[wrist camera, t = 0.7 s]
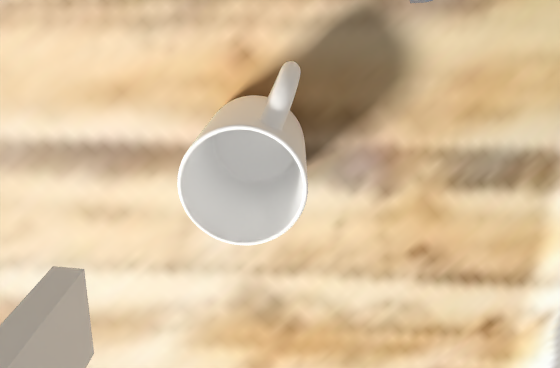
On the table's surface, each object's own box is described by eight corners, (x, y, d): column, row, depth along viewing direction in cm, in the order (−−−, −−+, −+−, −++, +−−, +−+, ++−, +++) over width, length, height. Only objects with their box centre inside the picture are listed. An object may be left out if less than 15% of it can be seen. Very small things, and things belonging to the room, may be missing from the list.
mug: (248, 31, 33) (229, 40, 23) (343, 78, 34) (361, 105, 24) (194, 162, 37) (159, 216, 28) (279, 200, 38) (274, 263, 29)
